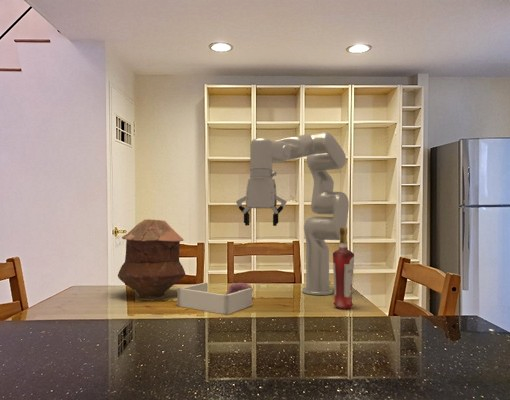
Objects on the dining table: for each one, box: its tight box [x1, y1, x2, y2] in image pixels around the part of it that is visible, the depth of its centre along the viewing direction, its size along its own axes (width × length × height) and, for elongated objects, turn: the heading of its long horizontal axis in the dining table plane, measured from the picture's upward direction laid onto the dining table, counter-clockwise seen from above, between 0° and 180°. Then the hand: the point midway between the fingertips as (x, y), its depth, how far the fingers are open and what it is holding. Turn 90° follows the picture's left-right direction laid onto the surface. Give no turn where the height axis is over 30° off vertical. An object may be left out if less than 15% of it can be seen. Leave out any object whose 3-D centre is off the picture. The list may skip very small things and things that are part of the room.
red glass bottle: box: [332, 227, 355, 310], centre depth 137 cm, size 7×7×28 cm
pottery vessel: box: [117, 219, 186, 298], centre depth 156 cm, size 26×26×30 cm
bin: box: [176, 282, 253, 316], centre depth 138 cm, size 15×21×6 cm
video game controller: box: [225, 282, 254, 295], centre depth 151 cm, size 10×5×7 cm, turn 71°
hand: (260, 225), depth 132 cm, fingers open, 9 cm apart
